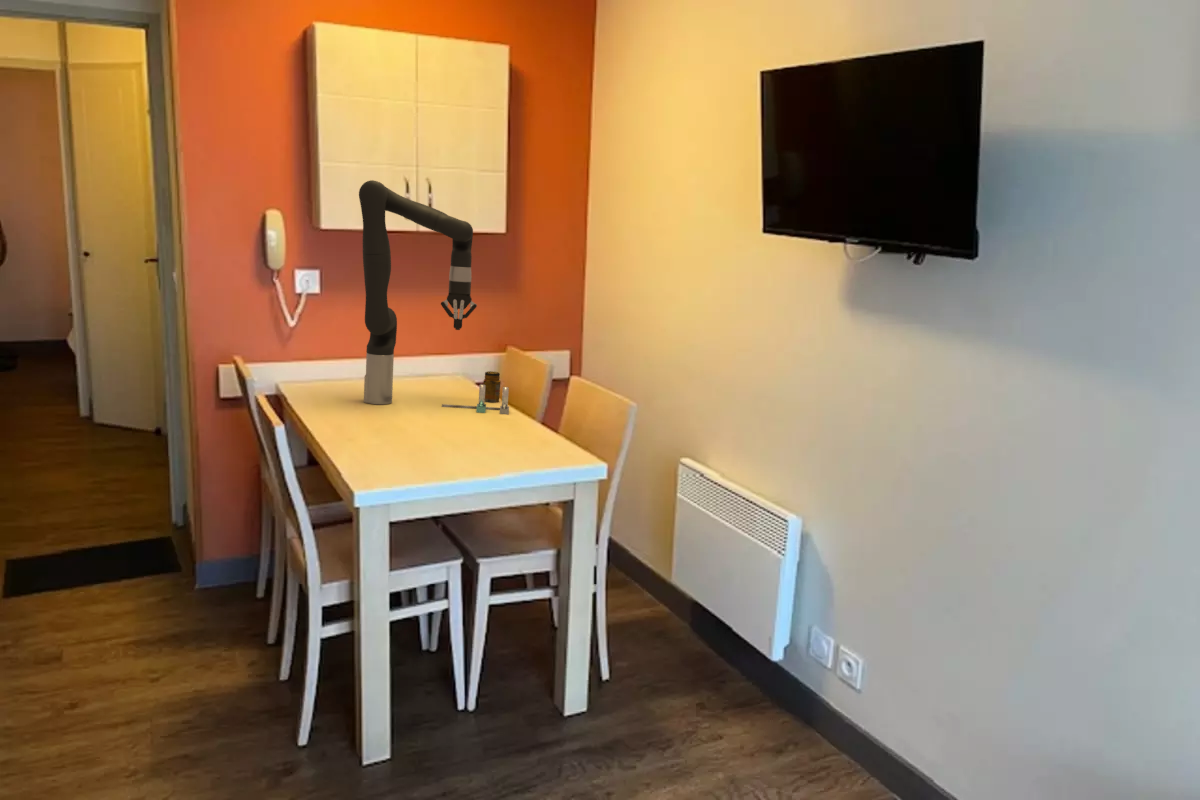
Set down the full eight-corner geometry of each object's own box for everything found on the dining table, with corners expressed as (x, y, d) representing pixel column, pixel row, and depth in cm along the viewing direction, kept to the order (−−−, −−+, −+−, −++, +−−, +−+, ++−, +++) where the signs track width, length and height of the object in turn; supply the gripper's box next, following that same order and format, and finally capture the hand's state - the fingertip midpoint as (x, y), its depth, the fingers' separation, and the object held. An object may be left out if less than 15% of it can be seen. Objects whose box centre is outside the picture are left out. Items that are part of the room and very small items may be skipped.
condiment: (493, 402, 342) (495, 370, 339) (506, 407, 335) (508, 374, 333) (476, 404, 337) (478, 371, 335) (489, 408, 331) (491, 375, 328)
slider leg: (476, 412, 316) (477, 386, 314) (477, 409, 321) (478, 383, 319) (485, 412, 316) (486, 386, 315) (485, 409, 321) (487, 384, 319)
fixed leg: (499, 414, 317) (501, 388, 315) (500, 411, 322) (501, 385, 320) (508, 415, 317) (510, 389, 315) (508, 412, 322) (510, 386, 320)
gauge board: (436, 418, 309) (436, 411, 309) (440, 409, 323) (440, 403, 323) (509, 422, 311) (509, 416, 311) (510, 413, 325) (510, 407, 325)
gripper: (439, 279, 319) (437, 329, 322) (478, 282, 320) (476, 332, 323) (441, 277, 326) (439, 327, 329) (480, 280, 327) (477, 329, 330)
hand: (457, 329), depth 326 cm, fingers closed
